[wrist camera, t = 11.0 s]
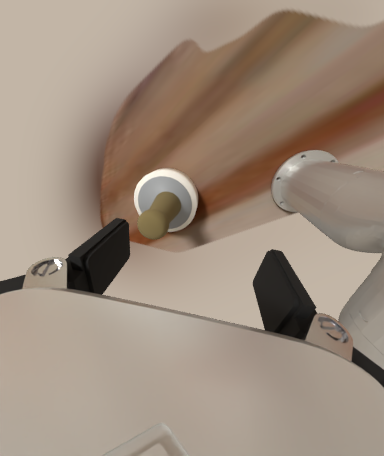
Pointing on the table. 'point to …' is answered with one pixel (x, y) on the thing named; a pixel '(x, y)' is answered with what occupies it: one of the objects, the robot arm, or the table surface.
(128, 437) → the robot arm
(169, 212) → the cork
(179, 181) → the podium
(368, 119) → the table surface
